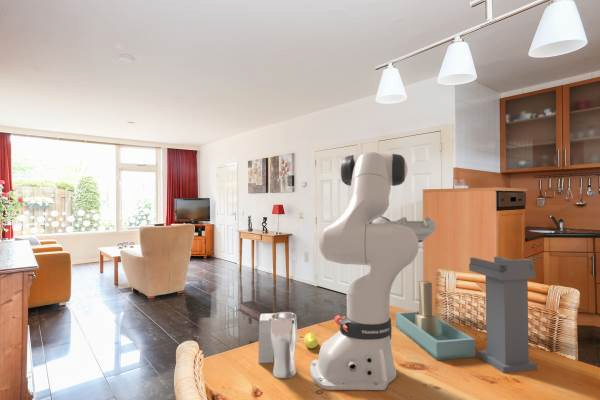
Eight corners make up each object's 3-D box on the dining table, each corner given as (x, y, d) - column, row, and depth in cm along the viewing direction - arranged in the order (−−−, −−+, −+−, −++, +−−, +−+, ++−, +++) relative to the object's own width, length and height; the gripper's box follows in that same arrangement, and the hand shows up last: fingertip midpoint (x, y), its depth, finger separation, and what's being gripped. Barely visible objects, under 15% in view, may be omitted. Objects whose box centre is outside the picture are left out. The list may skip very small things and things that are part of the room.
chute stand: (503, 372, 87) (501, 261, 88) (470, 351, 100) (468, 253, 100) (537, 369, 89) (535, 259, 89) (500, 348, 102) (498, 252, 102)
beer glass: (282, 364, 93) (281, 309, 93) (302, 371, 89) (302, 314, 89) (265, 374, 88) (265, 316, 88) (286, 382, 84) (286, 322, 84)
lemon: (316, 341, 109) (316, 329, 109) (318, 352, 101) (318, 339, 101) (303, 341, 109) (303, 329, 109) (304, 352, 101) (304, 339, 101)
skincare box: (259, 354, 100) (259, 313, 100) (275, 353, 100) (274, 312, 100) (258, 364, 93) (257, 320, 94) (274, 363, 94) (273, 319, 94)
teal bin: (436, 360, 95) (436, 342, 95) (395, 326, 120) (395, 312, 120) (475, 356, 97) (474, 339, 97) (427, 324, 122) (426, 310, 122)
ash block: (415, 332, 113) (421, 336, 109) (414, 281, 113) (420, 284, 109) (431, 331, 114) (438, 335, 110) (431, 280, 114) (437, 283, 110)
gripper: (375, 228, 135) (388, 211, 123) (423, 227, 138) (439, 210, 126) (379, 242, 131) (392, 227, 120) (427, 241, 135) (445, 226, 123)
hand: (417, 218), depth 123 cm, fingers open, 8 cm apart
